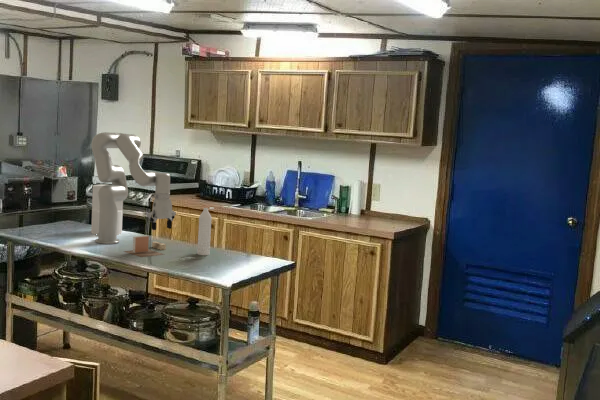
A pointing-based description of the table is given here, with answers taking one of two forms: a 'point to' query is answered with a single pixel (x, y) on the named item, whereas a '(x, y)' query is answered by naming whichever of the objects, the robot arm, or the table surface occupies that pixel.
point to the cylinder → (97, 208)
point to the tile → (140, 244)
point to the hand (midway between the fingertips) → (161, 229)
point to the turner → (159, 245)
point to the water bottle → (204, 232)
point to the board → (144, 253)
